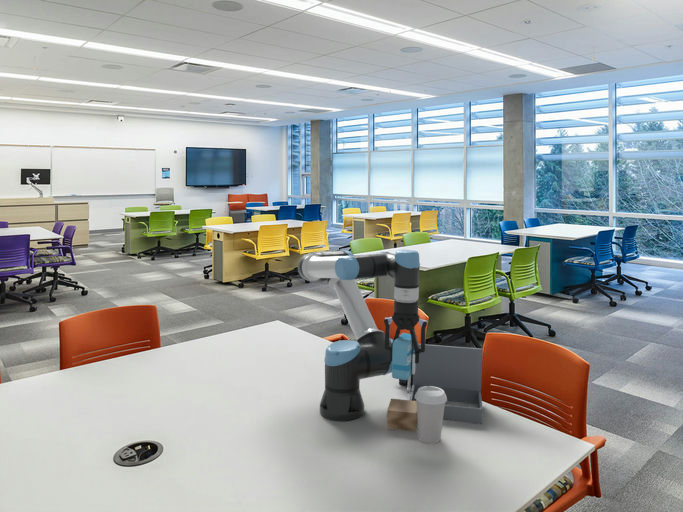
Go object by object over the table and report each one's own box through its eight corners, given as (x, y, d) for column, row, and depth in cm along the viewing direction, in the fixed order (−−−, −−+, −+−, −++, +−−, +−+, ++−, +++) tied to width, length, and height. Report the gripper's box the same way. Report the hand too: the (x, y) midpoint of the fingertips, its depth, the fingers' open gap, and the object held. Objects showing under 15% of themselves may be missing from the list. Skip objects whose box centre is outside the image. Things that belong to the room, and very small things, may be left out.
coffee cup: (447, 433, 156) (449, 387, 154) (443, 448, 147) (445, 399, 145) (416, 428, 159) (418, 383, 157) (410, 443, 150) (412, 395, 148)
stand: (387, 428, 159) (387, 410, 158) (390, 415, 168) (391, 398, 167) (415, 431, 157) (416, 413, 156) (418, 418, 166) (418, 401, 165)
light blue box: (405, 382, 153) (406, 343, 152) (391, 379, 155) (392, 341, 154) (416, 369, 164) (417, 333, 163) (402, 367, 166) (403, 331, 164)
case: (403, 415, 168) (404, 357, 165) (408, 396, 183) (409, 343, 180) (482, 424, 162) (484, 364, 159) (480, 403, 177) (482, 348, 175)
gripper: (375, 300, 155) (374, 373, 158) (435, 304, 151) (432, 378, 154) (379, 295, 162) (377, 365, 165) (436, 299, 158) (434, 370, 161)
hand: (404, 371), depth 160 cm, fingers closed on light blue box, 5 cm apart
